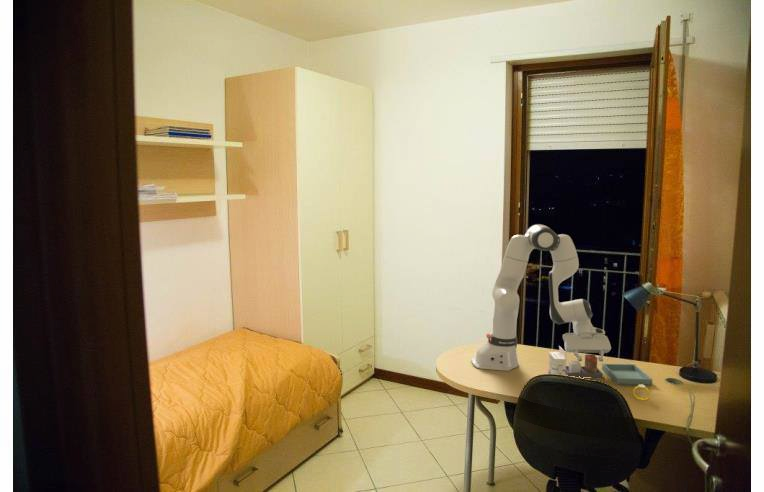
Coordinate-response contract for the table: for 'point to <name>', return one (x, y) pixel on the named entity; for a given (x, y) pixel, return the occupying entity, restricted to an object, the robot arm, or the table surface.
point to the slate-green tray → (626, 374)
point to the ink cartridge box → (557, 362)
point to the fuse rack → (584, 373)
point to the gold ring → (642, 388)
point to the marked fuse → (590, 364)
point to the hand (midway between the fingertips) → (590, 360)
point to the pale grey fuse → (574, 366)
